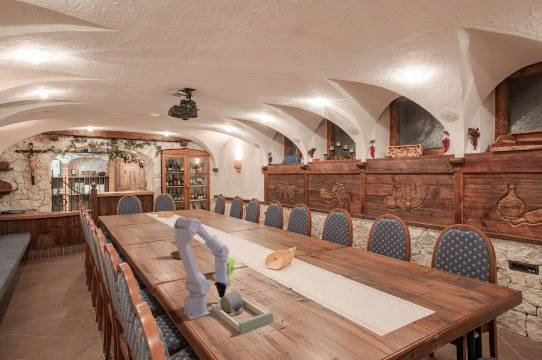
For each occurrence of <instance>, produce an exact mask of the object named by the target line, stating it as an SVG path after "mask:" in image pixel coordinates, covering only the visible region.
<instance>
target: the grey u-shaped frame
mask: <svg viewBox="0 0 542 360" xmlns="http://www.w3.org/2000/svg"><path fill="white" fill-rule="evenodd" d="M242 300H243V304H242V306H243V307H246V308H247V309H249V310H250V311H251V312H253V313H255V314H256V315H257V316H254V317H250V318H247V319H245V320H242V321H239V322H238V321H237V320H236V319H234V318H233V317H232V316H231V315H229V314H228V312H225V311H223V310H222V308H221V307H219V306H218V305H216V304H215V303H212V304H211V311H212V312H213V313H215V314H216V315H217V316H218V317H219V318H220V319H222V320H223V321H225V322H226V323H227V324H228V325H230V327H232V328H234V330H235V331H237V332H238V333H239V334H240V335H242V334H245V333H248V332H250V331H253V330H257V329H258V328H259V329H260V328H262V327H264V326H267V325H270V324H273V323H274V313H273V311H269V312H267V311H265V310H263V309H262V308H261V307H259V306H257V305H256V304H254V303H253V302H251V301H249V300H247V298H244V297H243V296H242Z"/></svg>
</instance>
